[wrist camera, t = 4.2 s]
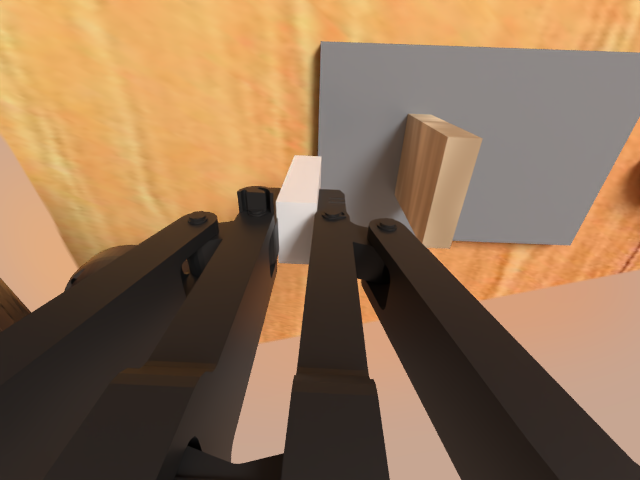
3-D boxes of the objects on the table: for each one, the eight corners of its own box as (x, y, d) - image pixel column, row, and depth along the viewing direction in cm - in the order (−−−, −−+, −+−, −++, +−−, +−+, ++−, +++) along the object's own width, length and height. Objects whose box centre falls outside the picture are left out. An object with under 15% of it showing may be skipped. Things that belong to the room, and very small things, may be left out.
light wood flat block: (394, 194, 24) (421, 247, 17) (408, 113, 21) (448, 137, 14) (414, 195, 24) (450, 248, 17) (431, 114, 21) (483, 138, 14)
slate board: (316, 228, 27) (315, 235, 26) (321, 42, 20) (320, 41, 19) (560, 238, 27) (570, 245, 26) (655, 54, 19) (673, 53, 18)
